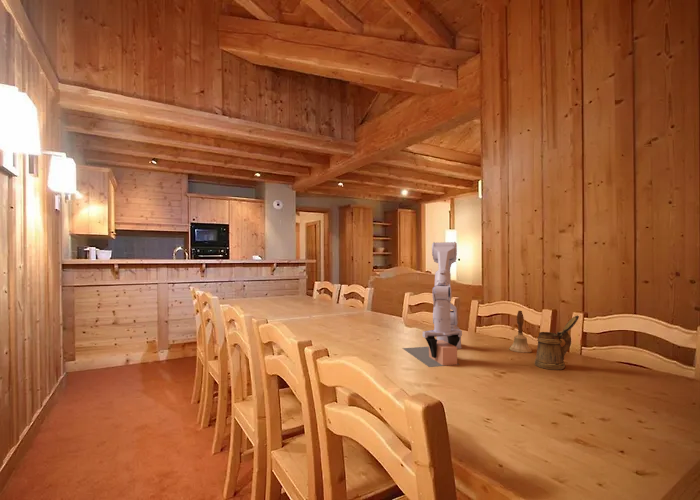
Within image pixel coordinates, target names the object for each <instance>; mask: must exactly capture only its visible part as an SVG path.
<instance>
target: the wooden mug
mask: <svg viewBox="0 0 700 500" xmlns="http://www.w3.org/2000/svg"><path fill="white" fill-rule="evenodd" d="M579 319H580V316H579V315H575V316H573V317H572V318H570V319H568V320H569V321H567V323H566V324H565V326H564V327H563V330H562V331H557V332H556V333H555V332H550V331H549V332H548V331H539V332H538V337H537V348H536V357H535V360H534V365H535V366H536V367H538V368H540V369H545V370H554V371H558V370H559V371H561V370H564V369H565V367H566V364H565V361H564V360H565V355H566V354H567V352H568V351H569V349H570V347H571V345H572V337H571V335H570V333H569V331H570V330H571V329H572V328H573V327H574V326H575V325H576V323H577V322H578V321H579ZM562 340H563V341H564V345H562V346H561V344H562V343H563V341H562Z"/></svg>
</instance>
